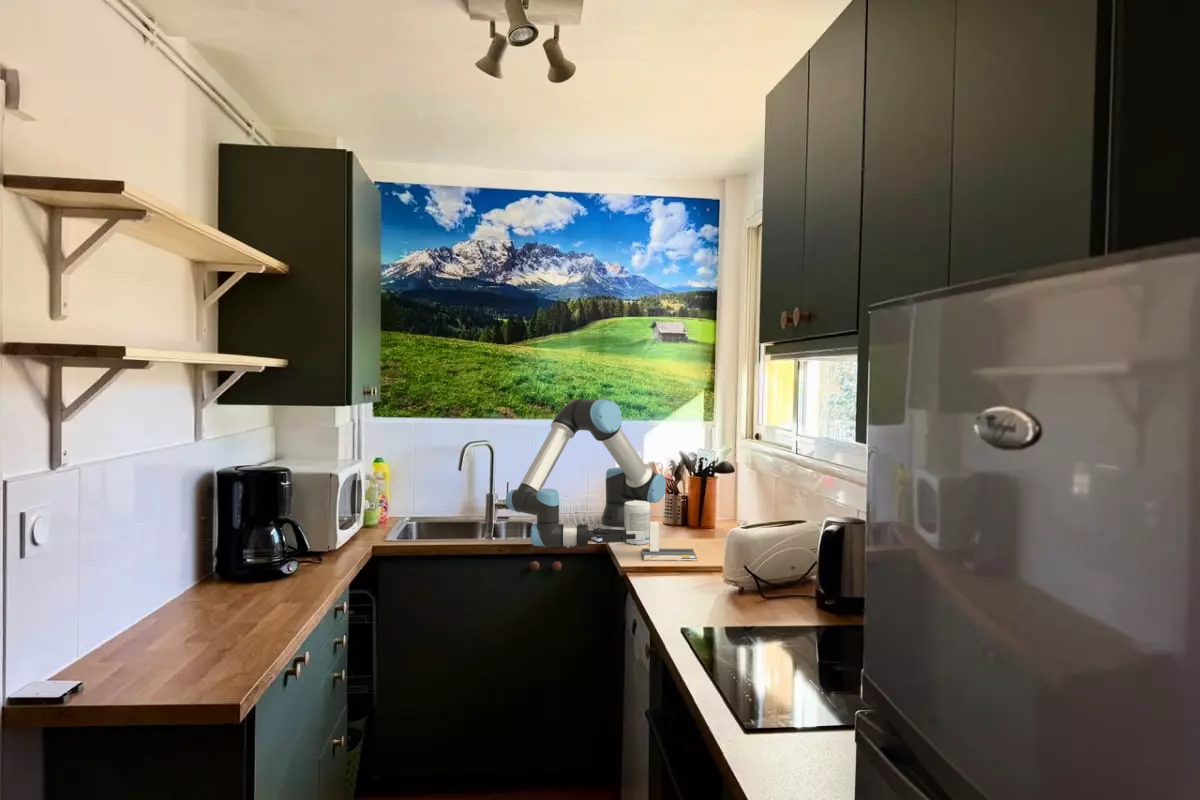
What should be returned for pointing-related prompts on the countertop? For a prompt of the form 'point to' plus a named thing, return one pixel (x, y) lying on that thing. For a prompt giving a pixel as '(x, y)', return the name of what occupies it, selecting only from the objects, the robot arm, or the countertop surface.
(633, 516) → the supplement tub
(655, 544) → the switch tab
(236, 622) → the countertop surface
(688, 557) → the switch housing
